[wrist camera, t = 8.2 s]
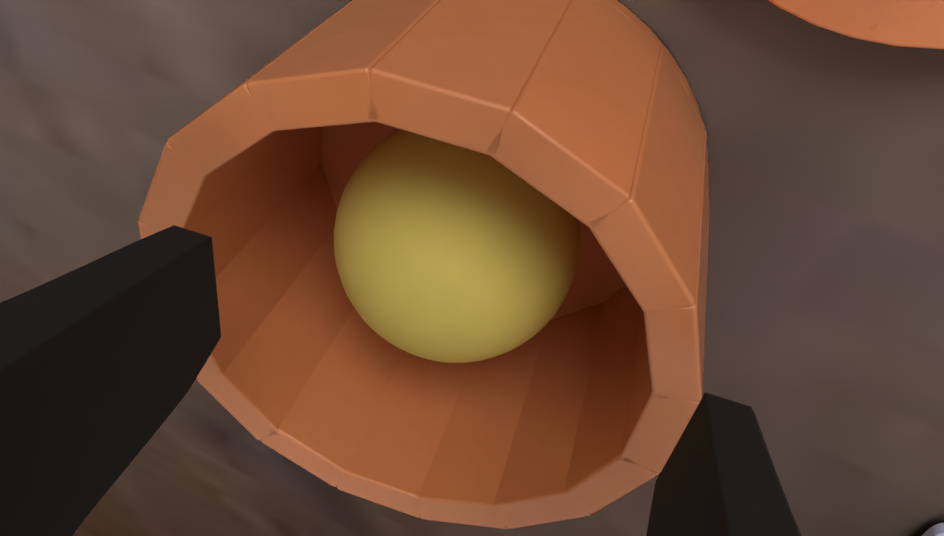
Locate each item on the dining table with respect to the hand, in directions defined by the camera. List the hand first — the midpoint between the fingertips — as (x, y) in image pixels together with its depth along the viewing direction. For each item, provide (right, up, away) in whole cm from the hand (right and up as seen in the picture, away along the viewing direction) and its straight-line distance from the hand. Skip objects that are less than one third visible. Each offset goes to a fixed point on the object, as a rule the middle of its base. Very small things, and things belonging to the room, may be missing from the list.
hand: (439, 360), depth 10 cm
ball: (0, +2, +5) cm, 5 cm away
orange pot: (+1, +4, +7) cm, 8 cm away
